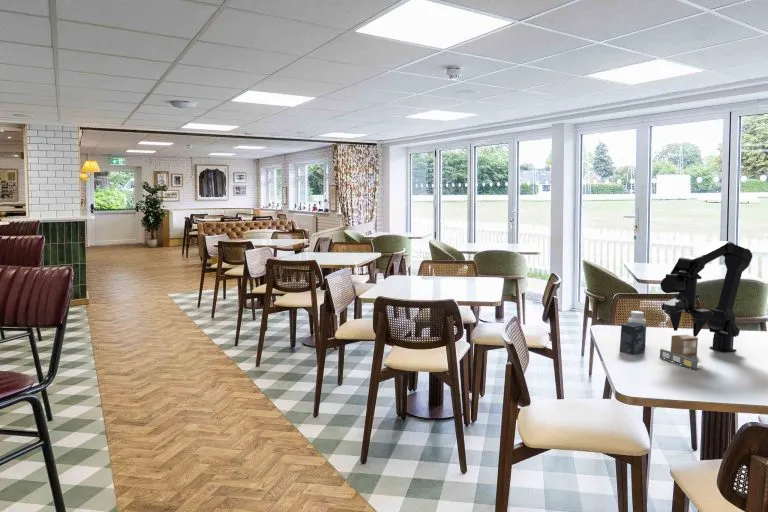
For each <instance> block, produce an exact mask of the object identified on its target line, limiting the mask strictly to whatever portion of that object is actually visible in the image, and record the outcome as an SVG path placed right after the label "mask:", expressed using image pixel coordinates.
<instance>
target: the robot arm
mask: <svg viewBox="0 0 768 512" xmlns="http://www.w3.org/2000/svg"><path fill="white" fill-rule="evenodd" d="M720 257H724V266H725V268H726V271H725V276H724V278H723V279H724V280H723V283H722V287H721V290H720V294H719V295H720V296H719V298H718V303H717V306H716V307H715V308H710V310H708V309H705V308H701V309H700V308H699V306H698V305H697V299H699V298H700V295H699V294H697V287H698V280H701V279H702V278H703V277H702V276H701V275H700V274H699V273H701V271H703V270H704V269H705V266H706V265H707V264H708V263H710V262H712V261H714V260H716V259H719V258H720ZM752 259H753V253H752V252H751V250H750V249H749V248H745V247H743V246H740V245H737V244H735V243H733V242H732V241H725V240H719V241H717V242H716V243H714V244H712V245H711V246H708V247H707V248H705V249H703V250H701V251H699V252H697V253H694V254H687V255H686V254H685V255H684V256H681V257H679V258H678V259H677V262H676V263H675V265H674V266H673V268H672V270H671V272H670V273H666V274H665V277H664V278H662V279H661V281H660V284H659V285H660V289H661V290H662V292H663V293H665V294H675V295H674V297H673V298H671V299H669V300H667V301H665V302H663V303H662V304H661V310H662V311H663V312H664V313H665V314H666V315H668V318H670V322H671V325H672V328H673V331H675V332H676V331H678V329H679V327H680V322H681V319H682V315H683V314H682V313H684V314H689V315H690V316H691V318H690V320H691V321H692V324H693V325H692V326H693V329H692V334H693V335H692V336H694V337H698V335H699V333H700V331H701V330H702V329H703V327H704V326H705V324H706V323H707V325H708V330H709V332H710V333H713V337H712V346H709V349H712V350H715V351H718V352H722V353H729V352H731V353H732V352H737V349H736V348H734V338H737V337H738V336H739V335H740V332H741V330H740V328H739V327H738V326H737V325H736V323H735V321H736V316H735V313H734V311H733V310H734V309H733V308H734V305H735V302H736V301H735V300H736V297H737V293H738V290H739V285H740V282H741V278H742V274H743V273H744V271H746V269H748V268H749V266H750V264H751V262H752Z"/></svg>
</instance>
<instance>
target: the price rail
mask: <svg viewBox="0 0 768 512" xmlns="http://www.w3.org/2000/svg"><path fill="white" fill-rule="evenodd" d="M661 357H662V358H661ZM659 358H661V359H663V358H665V359H664V360H666V359H667V360H666V361H669V360H670V361H669V362H671V361H673V362H672V363H674V362H675V363H674V364H677V363H678V364H677V365H679V364H681V365H680V366H682V365H683V367H685V366H686V368H687V367H688V369H690V368H691V369H690V370H693V369H694V370H693V371H700V370H701V367H698V362H699V361H698V360H696V359H692V358H691V357H684V356H681V355H678V354H676V353H673V352H671V350H670V351H669V350H667V349H664V348H660V350H659ZM699 369H700V370H699Z"/></svg>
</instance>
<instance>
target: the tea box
mask: <svg viewBox="0 0 768 512" xmlns="http://www.w3.org/2000/svg"><path fill="white" fill-rule="evenodd" d="M670 341H671V342H670V352H673V353H676V354H678V355H681V356H684V357H687V358H693V357H692V356H695V357H698V345H699V344H698V343H699V342H698V341H699V337H698V336H696V337H694V336H693V335H689V334H678V335H677V334H676V335H675V334H674V335H671V340H670Z"/></svg>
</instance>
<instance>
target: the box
mask: <svg viewBox="0 0 768 512" xmlns="http://www.w3.org/2000/svg"><path fill="white" fill-rule="evenodd" d="M620 327H621V328H620V341H619V342H620V343H619V352H621V353H624V354H625V353H626V354H629V355H635V354H639V353H640V354H641V353H644V352H645V351H646V341H645V339H646V338H647V324H646V325H645V324H641V323H636V322H631V323H628V322H626V323H621V326H620Z"/></svg>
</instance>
